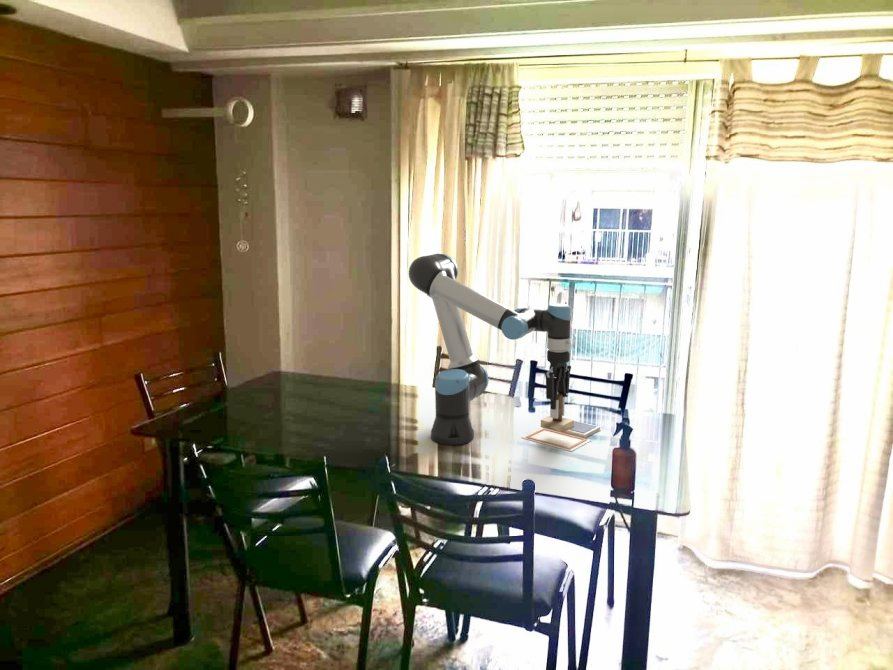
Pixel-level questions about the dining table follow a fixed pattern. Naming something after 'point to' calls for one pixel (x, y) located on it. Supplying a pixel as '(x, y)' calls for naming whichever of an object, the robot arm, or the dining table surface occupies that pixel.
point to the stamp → (558, 420)
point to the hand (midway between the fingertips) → (557, 416)
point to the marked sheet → (556, 439)
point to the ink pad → (583, 429)
